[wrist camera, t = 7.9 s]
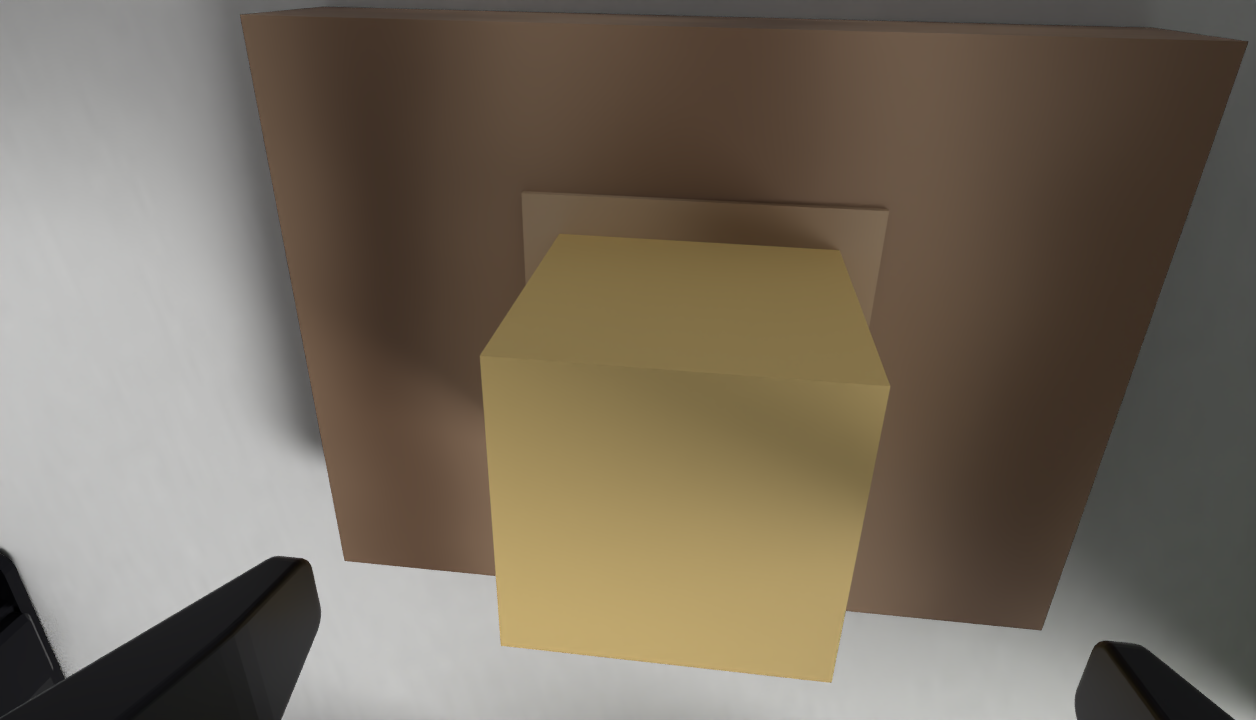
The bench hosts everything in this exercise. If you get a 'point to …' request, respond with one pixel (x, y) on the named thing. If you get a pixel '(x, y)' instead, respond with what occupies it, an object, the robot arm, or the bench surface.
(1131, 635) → the bench surface
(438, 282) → the walnut base
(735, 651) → the ochre cube
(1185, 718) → the robot arm
